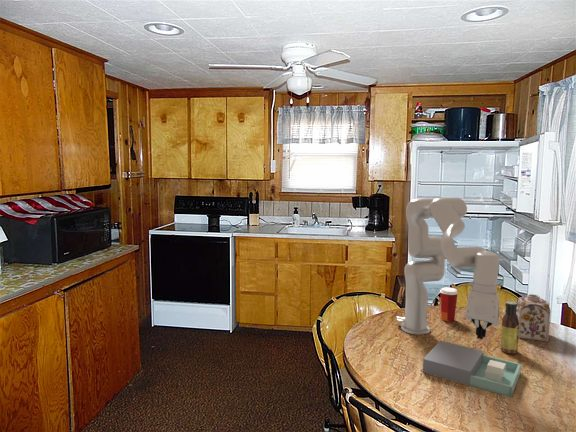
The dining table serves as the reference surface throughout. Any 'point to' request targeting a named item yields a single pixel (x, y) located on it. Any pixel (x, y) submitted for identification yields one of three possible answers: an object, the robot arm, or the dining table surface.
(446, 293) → the coffee cup
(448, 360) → the slate block
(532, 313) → the decorative jar
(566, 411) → the dining table surface
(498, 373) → the tile
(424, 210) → the robot arm
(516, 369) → the box
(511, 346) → the sauce bottle
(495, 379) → the tile
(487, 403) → the dining table surface
